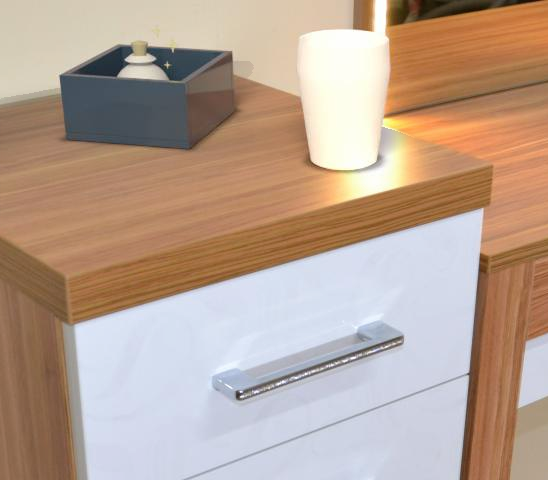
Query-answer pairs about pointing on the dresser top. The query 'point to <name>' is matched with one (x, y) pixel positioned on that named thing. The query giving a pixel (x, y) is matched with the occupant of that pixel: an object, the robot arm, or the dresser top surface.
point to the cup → (343, 95)
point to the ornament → (144, 62)
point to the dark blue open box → (148, 98)
